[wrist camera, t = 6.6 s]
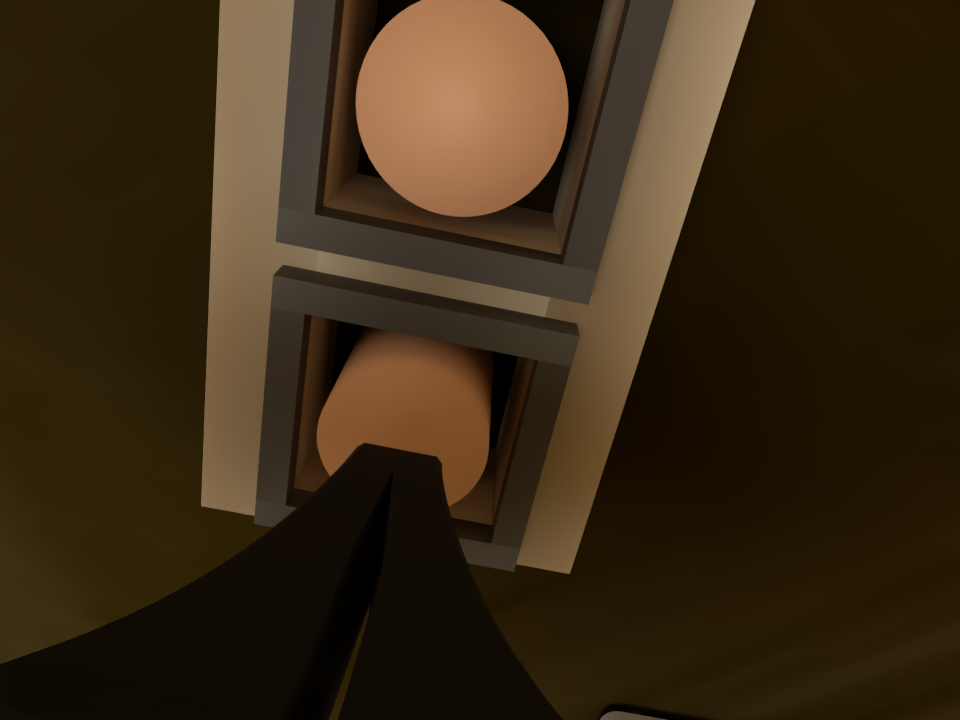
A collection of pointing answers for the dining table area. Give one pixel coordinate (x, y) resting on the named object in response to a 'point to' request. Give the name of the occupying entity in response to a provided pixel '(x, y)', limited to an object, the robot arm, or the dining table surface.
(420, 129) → the peg
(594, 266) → the socket block
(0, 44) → the dining table surface
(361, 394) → the peg
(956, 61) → the dining table surface
